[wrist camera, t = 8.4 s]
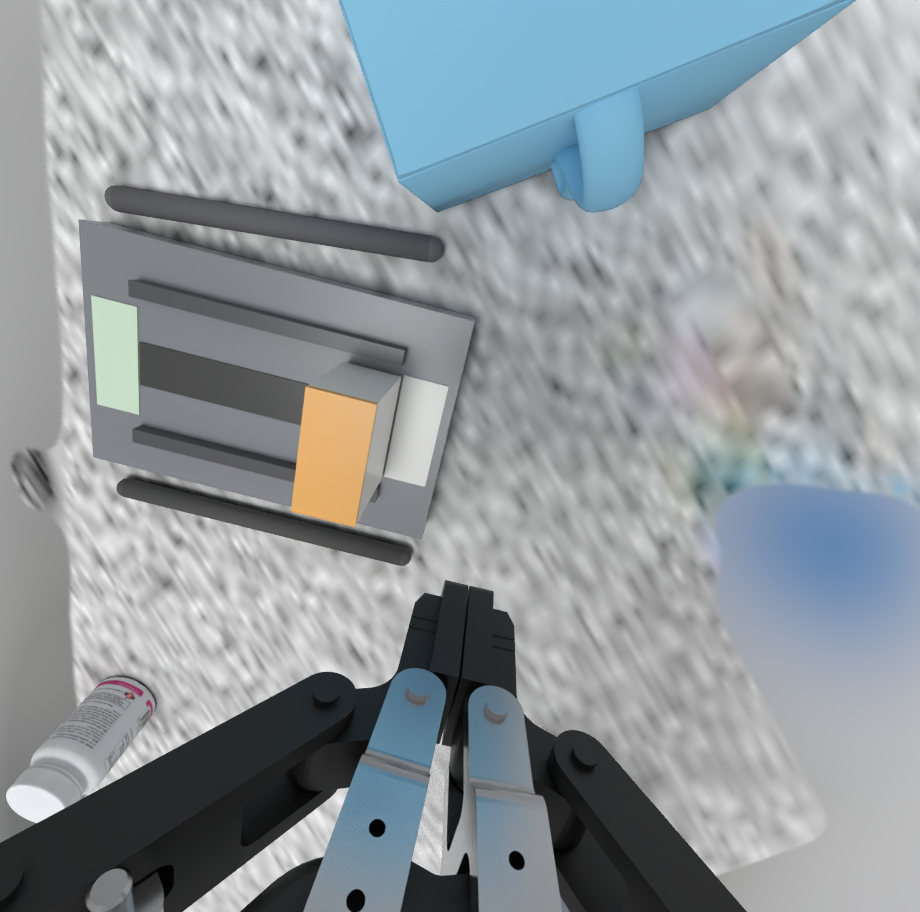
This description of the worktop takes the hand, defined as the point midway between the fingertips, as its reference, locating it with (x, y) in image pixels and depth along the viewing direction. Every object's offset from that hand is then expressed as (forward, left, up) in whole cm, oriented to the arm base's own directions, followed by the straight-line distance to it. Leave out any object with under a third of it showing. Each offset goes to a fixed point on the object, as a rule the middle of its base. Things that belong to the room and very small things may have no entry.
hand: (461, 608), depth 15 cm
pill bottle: (+22, +29, -15) cm, 39 cm away
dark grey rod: (+12, +9, -15) cm, 21 cm away
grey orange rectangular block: (+6, 0, -12) cm, 14 cm away
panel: (+12, 0, -15) cm, 19 cm away
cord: (+13, -9, -15) cm, 22 cm away
